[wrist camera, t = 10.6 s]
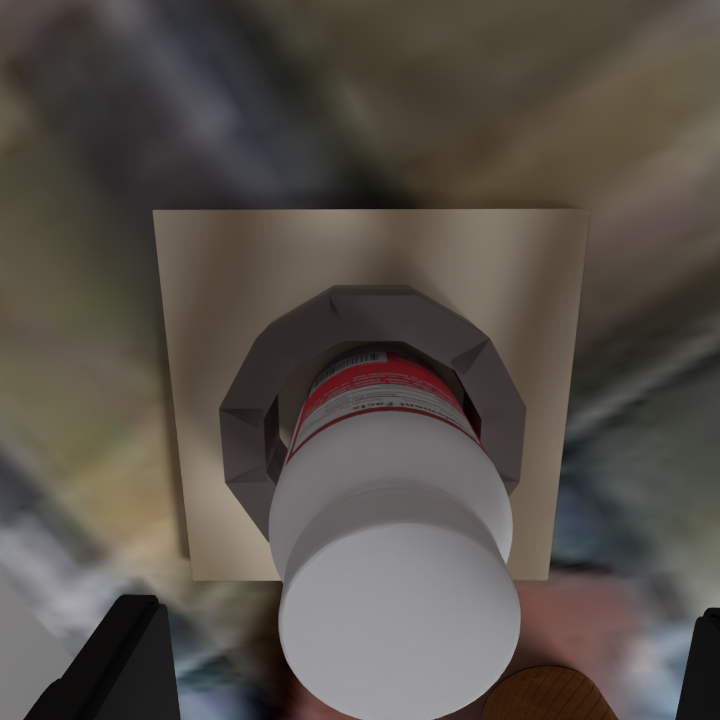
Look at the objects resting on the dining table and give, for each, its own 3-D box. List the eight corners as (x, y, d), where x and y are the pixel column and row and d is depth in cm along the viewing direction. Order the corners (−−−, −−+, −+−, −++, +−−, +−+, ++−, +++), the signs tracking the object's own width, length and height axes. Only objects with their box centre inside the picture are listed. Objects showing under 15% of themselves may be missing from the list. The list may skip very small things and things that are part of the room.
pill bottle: (406, 505, 21) (456, 793, 10) (277, 445, 20) (185, 688, 10) (482, 383, 20) (629, 571, 9) (345, 313, 19) (327, 427, 8)
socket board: (578, 209, 19) (635, 204, 15) (539, 565, 23) (576, 633, 19) (163, 210, 19) (111, 206, 15) (199, 565, 23) (167, 634, 19)
